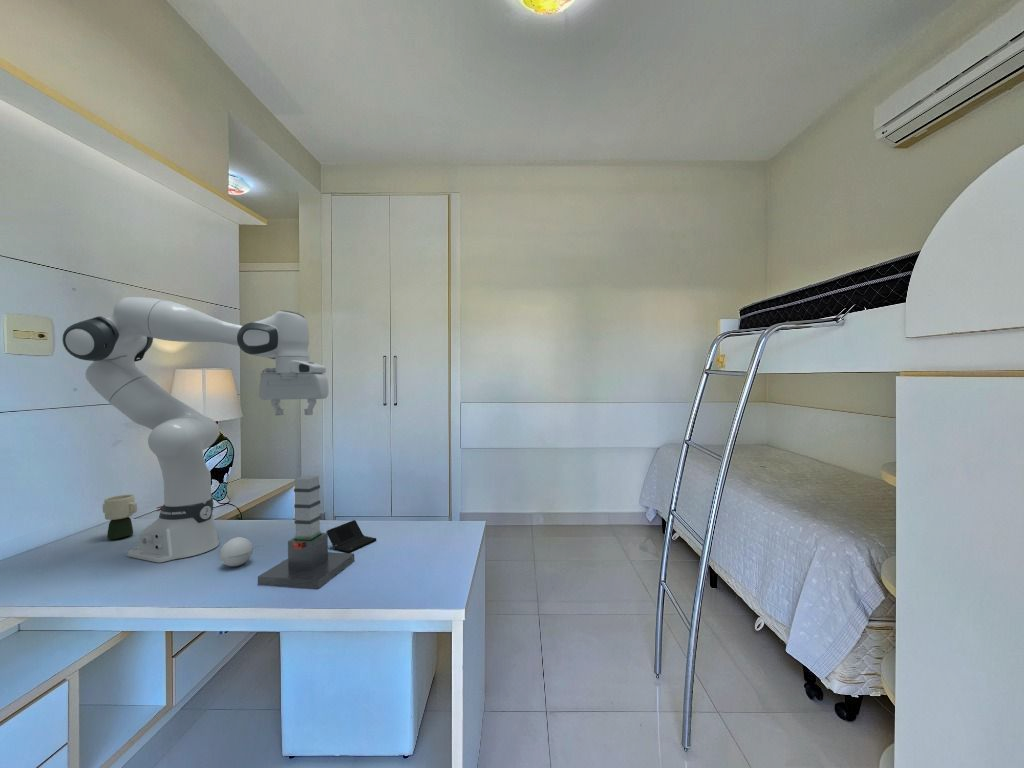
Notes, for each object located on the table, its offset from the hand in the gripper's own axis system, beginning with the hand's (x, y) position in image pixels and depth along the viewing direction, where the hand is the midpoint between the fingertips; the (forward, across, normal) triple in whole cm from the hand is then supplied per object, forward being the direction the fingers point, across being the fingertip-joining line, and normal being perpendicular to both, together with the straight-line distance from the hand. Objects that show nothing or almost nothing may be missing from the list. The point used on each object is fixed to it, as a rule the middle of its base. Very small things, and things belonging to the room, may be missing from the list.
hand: (293, 415), depth 125 cm
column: (+31, +13, -13) cm, 36 cm away
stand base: (+39, +13, -13) cm, 43 cm away
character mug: (+39, -64, +2) cm, 75 cm away
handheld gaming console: (+40, +14, +6) cm, 42 cm away
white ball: (+39, -8, -11) cm, 42 cm away
